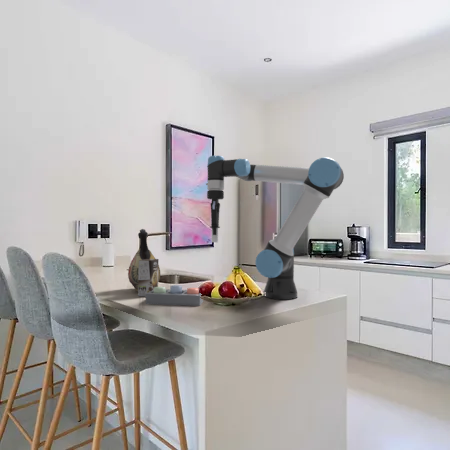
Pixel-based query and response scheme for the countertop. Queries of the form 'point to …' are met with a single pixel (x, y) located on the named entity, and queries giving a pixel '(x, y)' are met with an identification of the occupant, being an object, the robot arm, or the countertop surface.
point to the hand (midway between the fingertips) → (214, 242)
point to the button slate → (176, 289)
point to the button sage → (159, 289)
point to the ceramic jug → (140, 255)
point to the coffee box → (147, 276)
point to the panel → (173, 298)
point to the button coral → (192, 290)
